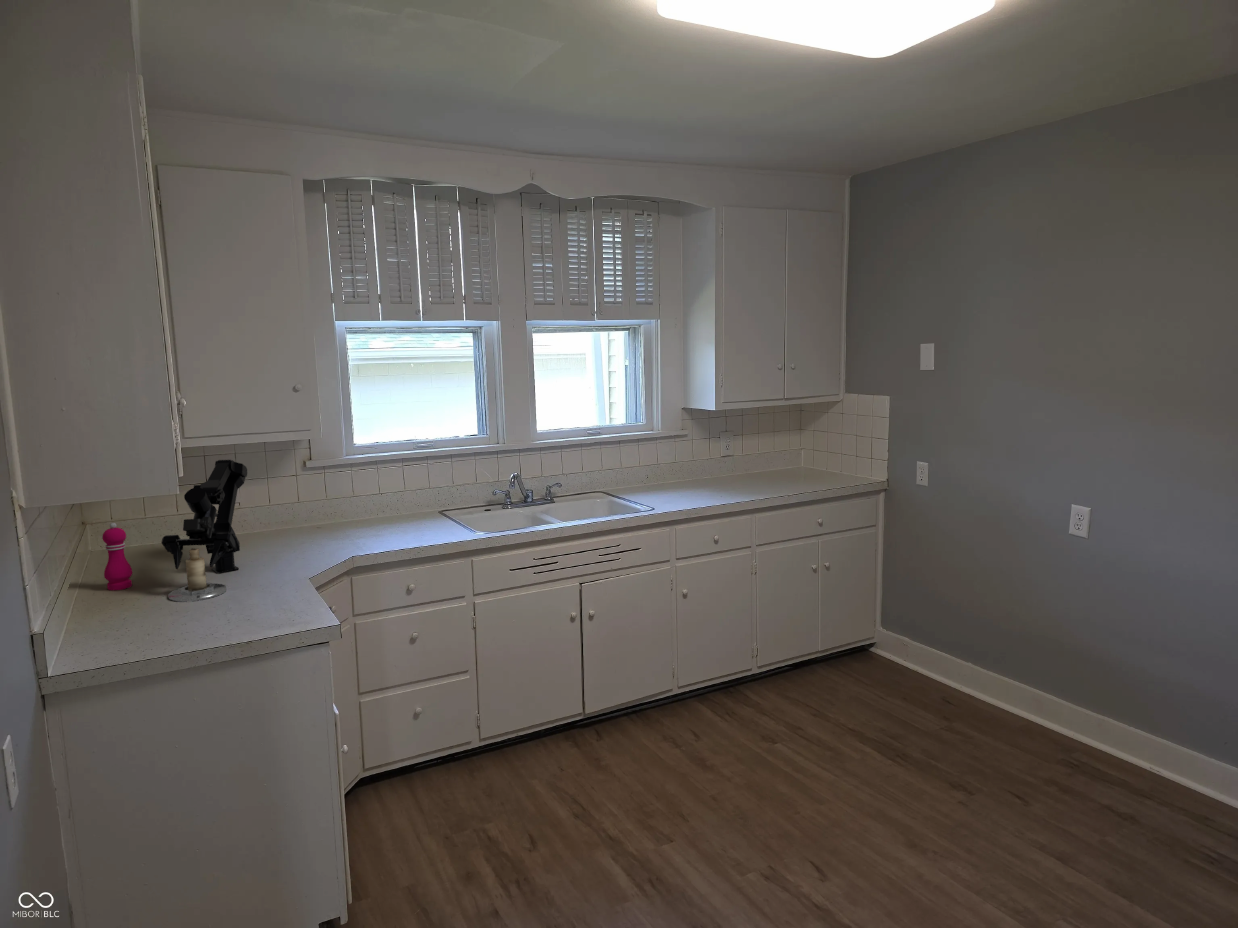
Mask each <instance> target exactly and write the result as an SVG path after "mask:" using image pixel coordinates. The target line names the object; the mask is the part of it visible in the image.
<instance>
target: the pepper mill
mask: <svg viewBox="0 0 1238 928" xmlns="http://www.w3.org/2000/svg"><path fill="white" fill-rule="evenodd" d="M101 539H102V541H103V542H104V543H105V545H104V546H105V550H106V551H107V555H108V559H107V564H106V566H105V569H104V572H103V576H104V577H103V578H104V579H105V580H106V581H108V582H107V584H106V587H107V590H108V591H122V590H126V588H127V589H129V588H132V586H133V581H132V579H130V578H131V577H132V575H133V573H134V572H133V568H132V566H131V564H130V563H129V562H128V560H127V558H126V556H125V548H126V543H125V541H126V539H127V534H126V531H125V530H124V529H122V528H121V527H118V526H117V523H115V522H111V523H110V524H109V528H108V529H107V528H106V530H104V531H103V533H102V538H101Z"/></svg>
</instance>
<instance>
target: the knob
mask: <svg viewBox="0 0 1238 928" xmlns="http://www.w3.org/2000/svg"><path fill="white" fill-rule="evenodd" d="M199 550H200V549H199V548H190V549H189V550H188V551H189V558H188V559H186V560H185V569H186V570H185V571H186V579H187V580H186V581H187V585H188V590H190V591H194V590H201V589H205V588H207V584H206V583H207V575H206V564H205V558H204V557H200V551H199Z"/></svg>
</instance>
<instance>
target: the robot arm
mask: <svg viewBox="0 0 1238 928" xmlns="http://www.w3.org/2000/svg"><path fill="white" fill-rule="evenodd" d="M247 476H248V468H247V466H246V465H244V464H243V463H240V462H236V461H235V460H232V459H218V460H215V463H214V468H213V470H212V471H211V474H210V475H209V477H208V478H207V480H206V481H204V482H202V483H200V484H194V485H193V488H190V489H189V490H187V491H186V492H185V493H184V495H183V497H184V501H185V502H186V504H187V506H188V508H189V509H190V511H191V512H192V513H194V514H193V515H194V516H193V518H185V519H183V523H182V524H183V527H182V531H183V532H185V535H186V537H189V538H181V537H180V535H179V534H170V535H169V534H165V535H164V536H163V537H162V538H161V543H160V544H161V545H162V546H163V547H164V549H165V550H166V552H167V553H170V555H172V556H173V563H174V567H175V569H176V570H178V569H179V568H180V565H181V561H182V557H183V550H184V547H185V546H189V547H191V546H205V548H206V552H207V554H208V555H209V554H211V556H210V560H209V567H210V568H211V571H212V572H215V573H217V574H222V573H229V572H232V571H237V570H239V567H238V566H236V564H235V553H237V552H240V551H241V548H240V547H241V545H240V541H239V539H238V537H237V535H236V533H235V530H234V529H233V527H232V524H233V517H234V512H235V507H236V501H237V497H238V496H237V494H238V490H239V489H240V488H241V487H242V486H243V485H244V484H245V480H246V478H247ZM215 505H218V508H217V507H216V506H215ZM213 566H214V567H213Z"/></svg>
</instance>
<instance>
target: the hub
mask: <svg viewBox="0 0 1238 928" xmlns="http://www.w3.org/2000/svg"><path fill="white" fill-rule="evenodd" d="M206 584H207V588H205V589H201V590H194V591H190V590H188V584H187V585H185V586H182V587H179V588H177V589H174V590H172V591H171V592H169V593H168V595H167V596H168V600H170V601H171V600H172V602H176V601H178V602H179V603H185V602H186V603H188V602H187V601H192V602H198V601H199V600H200V601H204V600H209V599H214V598H216V597H219V596H221V595H223V594H225V593H226V592H227V586H226V584H222V583H214V582H213V583H212V582H206ZM224 592H225V593H224Z"/></svg>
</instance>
